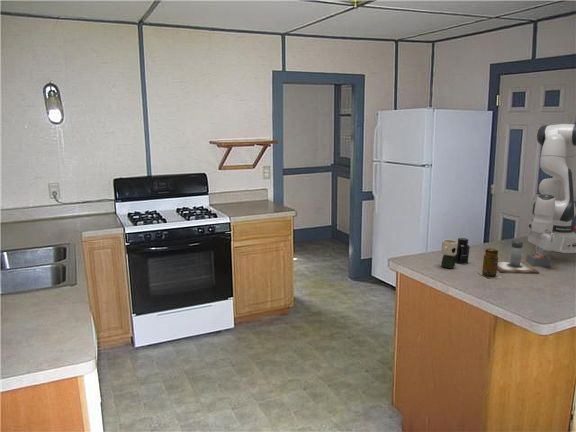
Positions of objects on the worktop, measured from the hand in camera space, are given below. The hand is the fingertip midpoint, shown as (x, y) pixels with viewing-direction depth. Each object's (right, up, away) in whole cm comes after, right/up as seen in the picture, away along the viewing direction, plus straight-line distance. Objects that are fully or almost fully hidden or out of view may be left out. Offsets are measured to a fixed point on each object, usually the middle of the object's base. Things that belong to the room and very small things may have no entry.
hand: (539, 255), depth 237 cm
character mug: (-47, -6, -6) cm, 48 cm away
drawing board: (-16, -6, -6) cm, 18 cm away
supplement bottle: (-38, -4, +2) cm, 38 cm away
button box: (0, -4, +1) cm, 5 cm away
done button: (0, -3, +1) cm, 3 cm away
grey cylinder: (-15, -4, -7) cm, 17 cm away
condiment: (-32, -8, -18) cm, 37 cm away
